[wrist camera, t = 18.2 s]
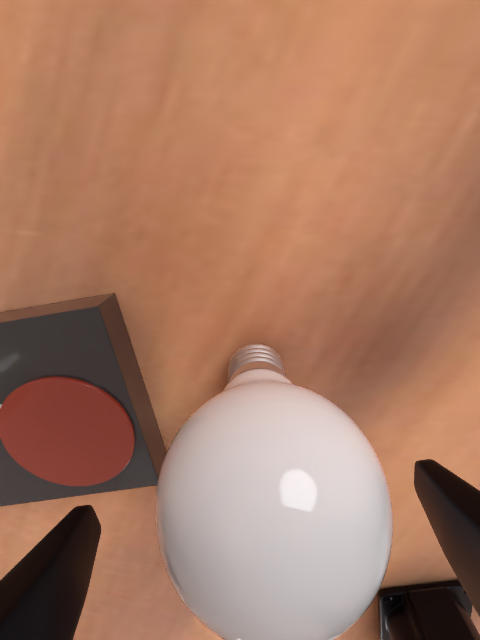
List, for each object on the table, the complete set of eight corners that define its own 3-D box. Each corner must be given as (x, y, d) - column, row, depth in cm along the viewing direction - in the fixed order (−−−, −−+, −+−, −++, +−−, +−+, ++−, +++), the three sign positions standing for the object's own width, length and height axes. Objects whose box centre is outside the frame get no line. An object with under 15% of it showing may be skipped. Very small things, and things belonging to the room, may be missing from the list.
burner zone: (150, 474, 17) (149, 477, 16) (32, 490, 17) (30, 493, 17) (112, 366, 14) (110, 368, 14) (-24, 387, 15) (-27, 390, 14)
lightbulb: (337, 325, 16) (525, 567, 6) (289, 424, 18) (360, 731, 8) (213, 285, 15) (164, 484, 5) (178, 395, 17) (94, 693, 7)
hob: (168, 456, 19) (159, 487, 17) (-33, 484, 19) (-65, 517, 17) (115, 292, 15) (96, 307, 13) (-129, 334, 16) (-182, 354, 14)
